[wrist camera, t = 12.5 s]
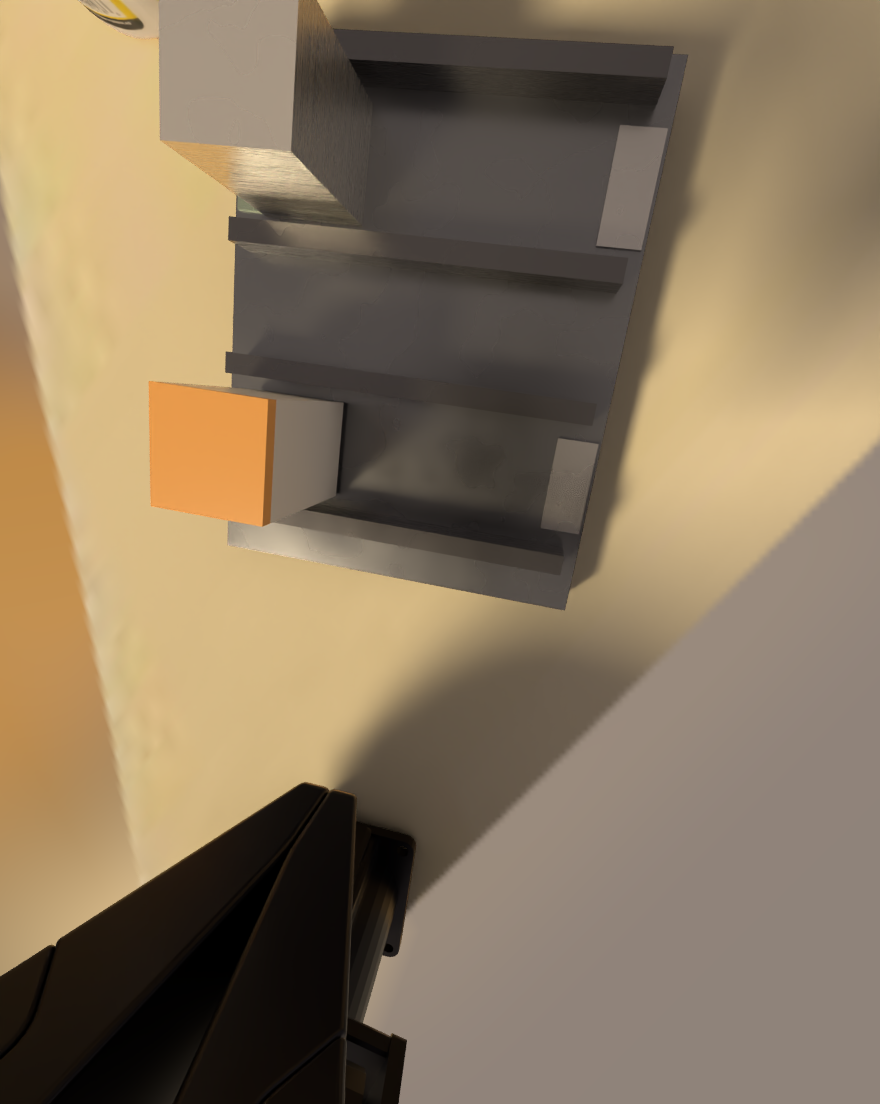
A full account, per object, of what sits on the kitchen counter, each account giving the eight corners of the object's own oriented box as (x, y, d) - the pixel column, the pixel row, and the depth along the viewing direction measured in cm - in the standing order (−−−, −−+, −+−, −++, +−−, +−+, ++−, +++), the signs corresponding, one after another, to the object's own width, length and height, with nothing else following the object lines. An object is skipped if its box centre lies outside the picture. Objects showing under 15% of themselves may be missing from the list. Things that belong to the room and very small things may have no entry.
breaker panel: (562, 595, 19) (574, 680, 13) (249, 535, 20) (131, 586, 14) (673, 89, 14) (766, -131, 9) (267, 64, 16) (110, -136, 10)
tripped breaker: (335, 495, 17) (262, 526, 13) (251, 481, 18) (151, 506, 13) (343, 402, 17) (268, 399, 12) (255, 389, 17) (148, 381, 12)
